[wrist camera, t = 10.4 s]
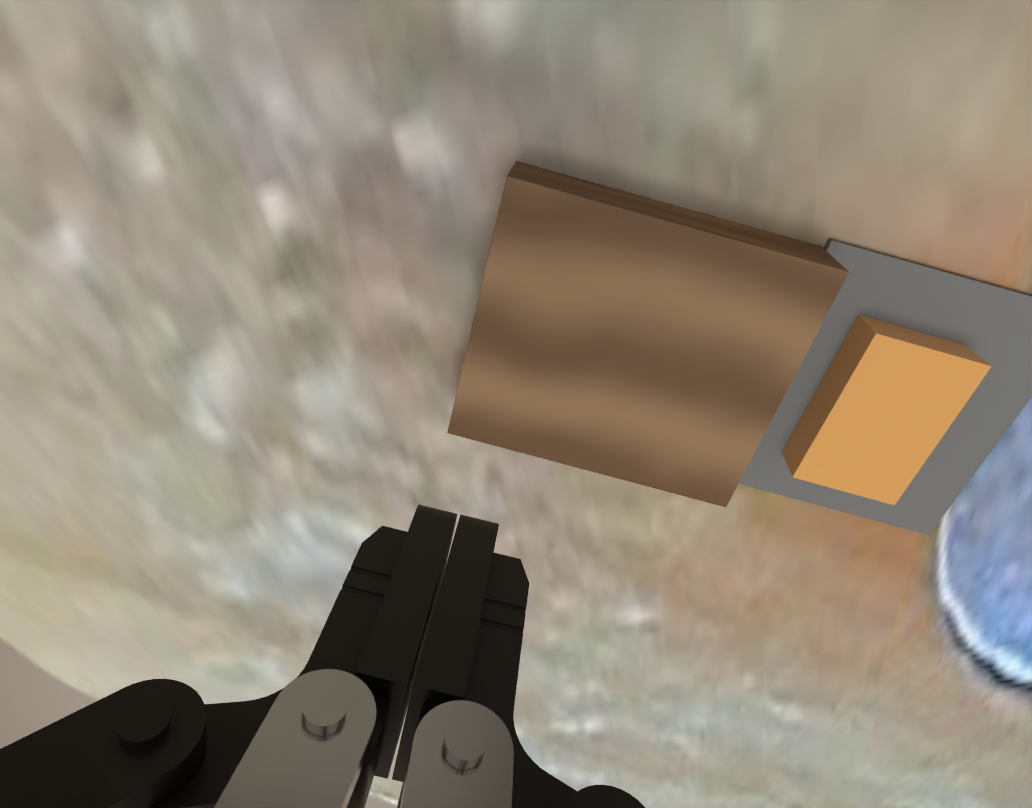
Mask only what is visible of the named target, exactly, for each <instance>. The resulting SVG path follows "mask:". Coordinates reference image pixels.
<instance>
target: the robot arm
mask: <svg viewBox="0 0 1032 808" xmlns="http://www.w3.org/2000/svg"><path fill="white" fill-rule="evenodd" d="M456 518H457V514H455V513H451V512H447V511H443V510H439V509H435V508H431V507H427V506H422V505H418V507H417V509H416V512H415V514H414V517H413V520H412V522H411V525H410V528H409V531H408V532H406V531H402V530H398V529H393V528H389V527H385V526H382V527H380V528H379V529H378V530H377V531H376V532H374V533H373V534H372V535H371V536H370V537H368V538H367V539H366V540H365V541H364V542H363V543H362V544H361V546H360V548H359V551H358V553H357V555H356V557H355V559H354V562H353V564H352V566H351V570H350V571H349V573H348V575H347V577H346V579H345V581H344V584H343V587H342V590H340V592H339V595H338V597H337V599H336V601H335V604H334V606H333V608H332V610H331V612H330V615H329V617H328V619H327V621H326V623H325V626H324V628H323V630H322V632H321V634H320V637H319V639H318V641H317V643H316V645H315V648H314V650H313V652H312V654H311V656H310V659H309V661H308V663H307V664H306V666H305V668H304V669H303V671H302V672H301V673H300V675H299V676H298V677H297V678H296V679H294V680H293V681H292V682H290V683H289V684H288V685H287V686H286V687H285V688H283V689H281V690H280V691H278V692H276V693H274V694H271V695H269V696H267V697H264V698H260V699H256V700H251V701H243V702H230V703H218V704H205V705H204V703H203V701H202V699H201V697H200V696H199V694H198V693H197V692H196V691H195V690H194V689H193V688H191V687H190V686H188V685H186V684H184V683H182V682H179V681H175V680H169V679H152V680H146V681H142V682H138V683H135V684H132V685H130V686H127V687H125V688H123V689H121V690H119V691H117V692H115V693H113V694H111V695H109V696H107V697H105V698H103V699H101V700H99V701H97V702H95V703H93V704H90V705H88V706H87V707H84V708H82V709H80V710H78V711H76V712H74V713H72V714H70V715H69V716H66V717H64V718H62V719H60V720H58V721H56V722H54V723H52V724H50V725H48V726H46V727H44V728H42V729H40V730H38V731H36V732H34V733H32V734H30V735H28V736H26V737H24V738H22V739H20V740H18V741H16V742H14V743H12V744H10V745H8V746H6V747H4V748H2V749H0V808H364V807H365V804H366V801H367V797H368V794H369V790H370V787H371V784H372V780H373V777H374V775H375V776H379V777H383V778H387V779H388V775H389V772H390V768H391V765H392V761H393V758H394V754H395V750H396V747H397V743H398V740H399V736H400V732H401V729H402V725H403V722H404V718H405V714H406V718H405V723H404V727H403V732H402V736H401V741H400V745H399V750H398V754H397V759H396V763H395V768H394V772H393V777H392V779H393V780H397V781H402V782H403V785H402V789H401V793H400V798H399V802H398V806H397V808H645V807H644V806H643V805H642V804H641V803H640V802H639V801H638V800H637V799H636V798H634V797H633V796H632V795H630V794H629V793H627V792H625V791H623V790H621V789H618V788H616V787H613V786H607V785H593V786H588V787H586V788H583V789H581V790H579V791H578V792H577V791H576V790H574V789H573V788H571V787H569V786H568V785H566V784H565V783H563V782H561V781H560V780H558V779H556V778H555V777H553V776H552V775H550V774H548V773H547V772H546V771H544V770H543V769H541V768H540V767H539V766H538V765H537V764H536V763H535V762H533V761H532V760H531V758H530V757H529V756H528V755H527V753H526V752H525V750H524V749H523V747H522V746H521V744H520V742H519V739H518V737H517V735H516V731H515V727H514V720H513V711H514V702H515V694H516V686H517V678H518V670H519V662H520V653H521V645H522V637H523V629H524V621H525V610H526V605H527V597H528V589H529V581H528V579H527V576H526V573H525V570H524V568H523V565H522V562H521V559H518V558H514V557H509V556H505V555H501V554H497V553H493V552H494V547H495V542H496V537H497V532H498V526H499V524H497V523H493V522H489V521H485V520H481V519H477V518H472V517H468V516H464V515H460V518H459V522H458V525H457V529H456V532H455V536H454V540H453V543H452V547H451V550H450V554H449V549H450V545H451V540H452V536H453V532H454V527H455V523H456ZM448 554H449V557H448ZM447 558H448V561H447ZM446 562H447V565H446ZM445 567H446V568H445ZM444 571H445V572H444ZM407 707H408V709H407ZM406 711H407V713H406Z"/></svg>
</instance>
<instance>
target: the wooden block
mask: <svg viewBox="0 0 1032 808" xmlns="http://www.w3.org/2000/svg"><path fill="white" fill-rule="evenodd" d="M848 274H849V271H848V270H847V269H845V268H844V267H843V266H842V265H841V264H840V263H839V262H838V261H837V260H836V259H835V258H834V257H833V256H831V255H830V254H829V253H828V252H827V251H826V250H825V249H824V248H823V247H820V246H816V245H813V244H809V243H805V242H802V241H798V240H795V239H791V238H788V237H784V236H781V235H777V234H773V233H770V232H766V231H763V230H759V229H756V228H752V227H748V226H745V225H741V224H738V223H734V222H731V221H727V220H724V219H720V218H716V217H713V216H709V215H706V214H702V213H699V212H695V211H691V210H688V209H684V208H681V207H677V206H674V205H670V204H667V203H663V202H659V201H656V200H652V199H649V198H645V197H642V196H638V195H635V194H631V193H627V192H624V191H620V190H617V189H613V188H610V187H606V186H602V185H599V184H595V183H592V182H588V181H585V180H581V179H578V178H574V177H570V176H567V175H563V174H560V173H556V172H553V171H549V170H545V169H542V168H538V167H535V166H531V165H528V164H524V163H521V162H517V161H516V163H515V164H514V166H513V167H512V169H511V171H510V172H509V174H508V176H507V179H506V183H505V187H504V192H503V196H502V200H501V204H500V209H499V213H498V217H497V222H496V226H495V230H494V235H493V239H492V243H491V247H490V252H489V256H488V260H487V265H486V269H485V273H484V278H483V282H482V286H481V290H480V295H479V299H478V303H477V308H476V312H475V316H474V320H473V325H472V329H471V333H470V338H469V342H468V346H467V351H466V355H465V359H464V363H463V368H462V372H461V376H460V381H459V385H458V389H457V394H456V398H455V402H454V406H453V411H452V415H451V419H450V424H449V428H448V432H447V433H450V434H453V435H457V436H461V437H465V438H468V439H472V440H476V441H480V442H483V443H487V444H491V445H495V446H498V447H502V448H506V449H510V450H513V451H517V452H521V453H525V454H528V455H532V456H536V457H540V458H543V459H547V460H551V461H555V462H558V463H562V464H566V465H570V466H573V467H577V468H581V469H585V470H588V471H592V472H596V473H600V474H603V475H607V476H611V477H615V478H618V479H622V480H626V481H630V482H633V483H637V484H641V485H645V486H648V487H652V488H656V489H660V490H663V491H667V492H671V493H675V494H678V495H682V496H686V497H690V498H693V499H697V500H701V501H705V502H708V503H712V504H716V505H720V506H723V507H726V506H727V504H728V502H729V501H730V499H731V497H732V495H733V493H734V491H735V489H736V487H737V485H738V483H739V482H740V480H741V478H742V476H743V474H744V472H745V470H746V468H747V466H748V464H749V462H750V461H751V459H752V457H753V455H754V453H755V451H756V449H757V447H758V445H759V443H760V441H761V440H762V438H763V436H764V434H765V432H766V430H767V428H768V426H769V424H770V422H771V420H772V419H773V417H774V415H775V413H776V411H777V409H778V407H779V405H780V403H781V401H782V399H783V398H784V396H785V394H786V392H787V390H788V388H789V386H790V384H791V382H792V380H793V378H794V377H795V375H796V373H797V371H798V369H799V367H800V365H801V363H802V361H803V359H804V357H805V356H806V354H807V352H808V350H809V348H810V346H811V344H812V342H813V340H814V338H815V336H816V335H817V333H818V331H819V329H820V327H821V325H822V323H823V321H824V319H825V317H826V315H827V314H828V312H829V310H830V308H831V306H832V304H833V302H834V300H835V298H836V296H837V294H838V293H839V291H840V289H841V287H842V285H843V283H844V281H845V279H846V277H847V275H848Z"/></svg>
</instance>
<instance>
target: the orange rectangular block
mask: <svg viewBox="0 0 1032 808" xmlns="http://www.w3.org/2000/svg"><path fill="white" fill-rule="evenodd" d="M991 367H992V366H991V365H990V364H988V363H987V362H986V361H985V360H984V359H982V358H981V357H980V356H979V355H978V354H976V353H975V352H974V351H973V350H972V349H970V348H969V347H968V346H967V345H963V344H960V343H956V342H953V341H949V340H946V339H942V338H939V337H935V336H932V335H928V334H925V333H921V332H918V331H914V330H911V329H907V328H903V327H900V326H896V325H893V324H889V323H886V322H882V321H879V320H875V319H872V318H868V317H865V316H861V315H858V316H857V318H856V320H855V321H854V323H853V325H852V327H851V329H850V330H849V332H848V334H847V336H846V338H845V339H844V341H843V343H842V345H841V347H840V348H839V350H838V352H837V354H836V356H835V357H834V359H833V361H832V363H831V365H830V366H829V368H828V370H827V372H826V373H825V375H824V377H823V379H822V381H821V382H820V384H819V386H818V388H817V390H816V391H815V393H814V395H813V397H812V399H811V400H810V402H809V404H808V406H807V408H806V409H805V411H804V413H803V415H802V417H801V418H800V420H799V422H798V424H797V426H796V427H795V429H794V431H793V433H792V434H791V436H790V438H789V440H788V442H787V443H786V445H785V447H784V449H783V451H782V452H781V453H782V455H783V457H784V460H785V462H786V464H787V466H788V468H789V471H790V473H791V475H792V477H793V478H797V479H800V480H804V481H808V482H811V483H815V484H819V485H822V486H826V487H829V488H833V489H837V490H840V491H844V492H848V493H851V494H855V495H859V496H862V497H866V498H870V499H873V500H877V501H880V502H884V503H888V504H891V505H895V504H896V503H897V501H898V500H899V498H900V497H901V496H902V494H903V493H904V491H905V490H906V488H907V487H908V486H909V484H910V483H911V481H912V480H913V478H914V477H915V475H916V474H917V473H918V471H919V470H920V468H921V467H922V465H923V464H924V463H925V461H926V460H927V458H928V457H929V455H930V454H931V453H932V451H933V450H934V448H935V447H936V445H937V444H938V443H939V441H940V440H941V438H942V437H943V435H944V434H945V433H946V431H947V430H948V428H949V427H950V425H951V424H952V422H953V421H954V420H955V418H956V417H957V415H958V414H959V412H960V411H961V410H962V408H963V407H964V405H965V404H966V402H967V401H968V400H969V398H970V397H971V395H972V394H973V392H974V391H975V390H976V388H977V387H978V385H979V384H980V382H981V381H982V379H983V378H984V377H985V375H986V374H987V372H988V371H989V369H990V368H991Z"/></svg>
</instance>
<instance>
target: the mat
mask: <svg viewBox="0 0 1032 808" xmlns="http://www.w3.org/2000/svg"><path fill="white" fill-rule="evenodd" d="M824 249H825V250H826V251H827V252H828V253H829V254H830V255H831V256H833V257H834V258H835V259H836V260H837V261H838V262H839V263H840V264H841V265H842V266H843V267H844V268H845V269H847V270H848V271H849V274H848V275H847V277H846V279H845V281H844V283H843V285H842V287H841V289H840V291H839V293H838V294H837V296H836V298H835V300H834V302H833V304H832V306H831V308H830V310H829V312H828V314H827V315H826V317H825V319H824V321H823V323H822V325H821V327H820V329H819V331H818V333H817V335H816V336H815V338H814V340H813V342H812V344H811V346H810V348H809V350H808V352H807V354H806V356H805V357H804V359H803V361H802V363H801V365H800V367H799V369H798V371H797V373H796V375H795V377H794V378H793V380H792V382H791V384H790V386H789V388H788V390H787V392H786V394H785V396H784V398H783V399H782V401H781V403H780V405H779V407H778V409H777V411H776V413H775V415H774V417H773V419H772V420H771V422H770V424H769V426H768V428H767V430H766V432H765V434H764V436H763V438H762V440H761V441H760V443H759V445H758V447H757V449H756V451H755V453H754V455H753V457H752V459H751V461H750V462H749V464H748V466H747V468H746V470H745V472H744V474H743V476H742V478H741V480H740V482H739V483H738V484H742V485H745V486H749V487H753V488H757V489H760V490H764V491H768V492H772V493H775V494H779V495H783V496H786V497H790V498H794V499H798V500H801V501H805V502H809V503H813V504H816V505H820V506H824V507H828V508H831V509H835V510H839V511H842V512H846V513H850V514H854V515H857V516H861V517H865V518H869V519H872V520H876V521H880V522H883V523H887V524H891V525H895V526H898V527H902V528H906V529H910V530H913V531H917V532H921V533H925V534H928V535H929V534H930V533H931V531H932V530H933V529H934V527H935V526H936V525H937V523H938V522H939V521H940V519H941V518H942V517H943V515H944V514H945V513H946V511H947V510H948V509H949V507H950V506H951V505H952V503H953V502H954V501H955V499H956V498H957V496H958V495H959V494H960V492H961V491H962V490H963V488H964V487H965V486H966V484H967V483H968V482H969V480H970V479H971V478H972V476H973V475H974V474H975V472H976V471H977V470H978V468H979V467H980V466H981V464H982V463H983V462H984V460H985V459H986V458H987V456H988V455H989V453H990V452H991V451H992V449H993V448H994V447H995V445H996V444H997V443H998V441H999V440H1000V439H1001V437H1002V436H1003V435H1004V433H1005V432H1006V431H1007V429H1008V428H1009V427H1010V425H1011V424H1012V423H1013V421H1014V420H1015V419H1016V417H1017V416H1018V415H1019V413H1020V412H1021V410H1022V409H1023V408H1024V406H1025V405H1026V404H1027V402H1028V401H1029V400H1030V398H1031V397H1032V295H1029V294H1025V293H1022V292H1018V291H1015V290H1011V289H1008V288H1004V287H1000V286H997V285H993V284H990V283H986V282H983V281H979V280H976V279H972V278H968V277H965V276H961V275H958V274H954V273H951V272H947V271H944V270H940V269H936V268H933V267H929V266H926V265H922V264H919V263H915V262H912V261H908V260H904V259H901V258H897V257H894V256H890V255H887V254H883V253H880V252H876V251H872V250H869V249H865V248H862V247H858V246H855V245H851V244H848V243H844V242H840V241H837V240H833V239H830V238H829V240H828V242H827V244H826V246H825V248H824ZM858 315H861V316H865V317H868V318H872V319H875V320H879V321H882V322H886V323H889V324H893V325H896V326H900V327H903V328H907V329H911V330H914V331H918V332H921V333H925V334H928V335H932V336H935V337H939V338H942V339H946V340H949V341H953V342H956V343H960V344H963V345H967V346H968V347H969V348H970V349H972V350H973V351H974V352H975V353H976V354H978V355H979V356H980V357H981V358H982V359H984V360H985V361H986V362H987V363H988V364H990V365H991V366H992V367H991V368H990V369H989V371H988V372H987V374H986V375H985V377H984V378H983V379H982V381H981V382H980V384H979V385H978V387H977V388H976V390H975V391H974V392H973V394H972V395H971V397H970V398H969V400H968V401H967V402H966V404H965V405H964V407H963V408H962V410H961V411H960V412H959V414H958V415H957V417H956V418H955V420H954V421H953V422H952V424H951V425H950V427H949V428H948V430H947V431H946V433H945V434H944V435H943V437H942V438H941V440H940V441H939V443H938V444H937V445H936V447H935V448H934V450H933V451H932V453H931V454H930V455H929V457H928V458H927V460H926V461H925V463H924V464H923V465H922V467H921V468H920V470H919V471H918V473H917V474H916V475H915V477H914V478H913V480H912V481H911V483H910V484H909V486H908V487H907V488H906V490H905V491H904V493H903V494H902V496H901V497H900V498H899V500H898V501H897V503H896V504H895V505H891V504H888V503H884V502H880V501H877V500H873V499H870V498H866V497H862V496H859V495H855V494H851V493H848V492H844V491H840V490H837V489H833V488H829V487H826V486H822V485H819V484H815V483H811V482H808V481H804V480H800V479H797V478H793V477H792V475H791V473H790V471H789V468H788V466H787V464H786V462H785V460H784V457H783V455H782V453H781V452H782V451H783V449H784V447H785V445H786V443H787V442H788V440H789V438H790V436H791V434H792V433H793V431H794V429H795V427H796V426H797V424H798V422H799V420H800V418H801V417H802V415H803V413H804V411H805V409H806V408H807V406H808V404H809V402H810V400H811V399H812V397H813V395H814V393H815V391H816V390H817V388H818V386H819V384H820V382H821V381H822V379H823V377H824V375H825V373H826V372H827V370H828V368H829V366H830V365H831V363H832V361H833V359H834V357H835V356H836V354H837V352H838V350H839V348H840V347H841V345H842V343H843V341H844V339H845V338H846V336H847V334H848V332H849V330H850V329H851V327H852V325H853V323H854V321H855V320H856V318H857V316H858Z"/></svg>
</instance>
